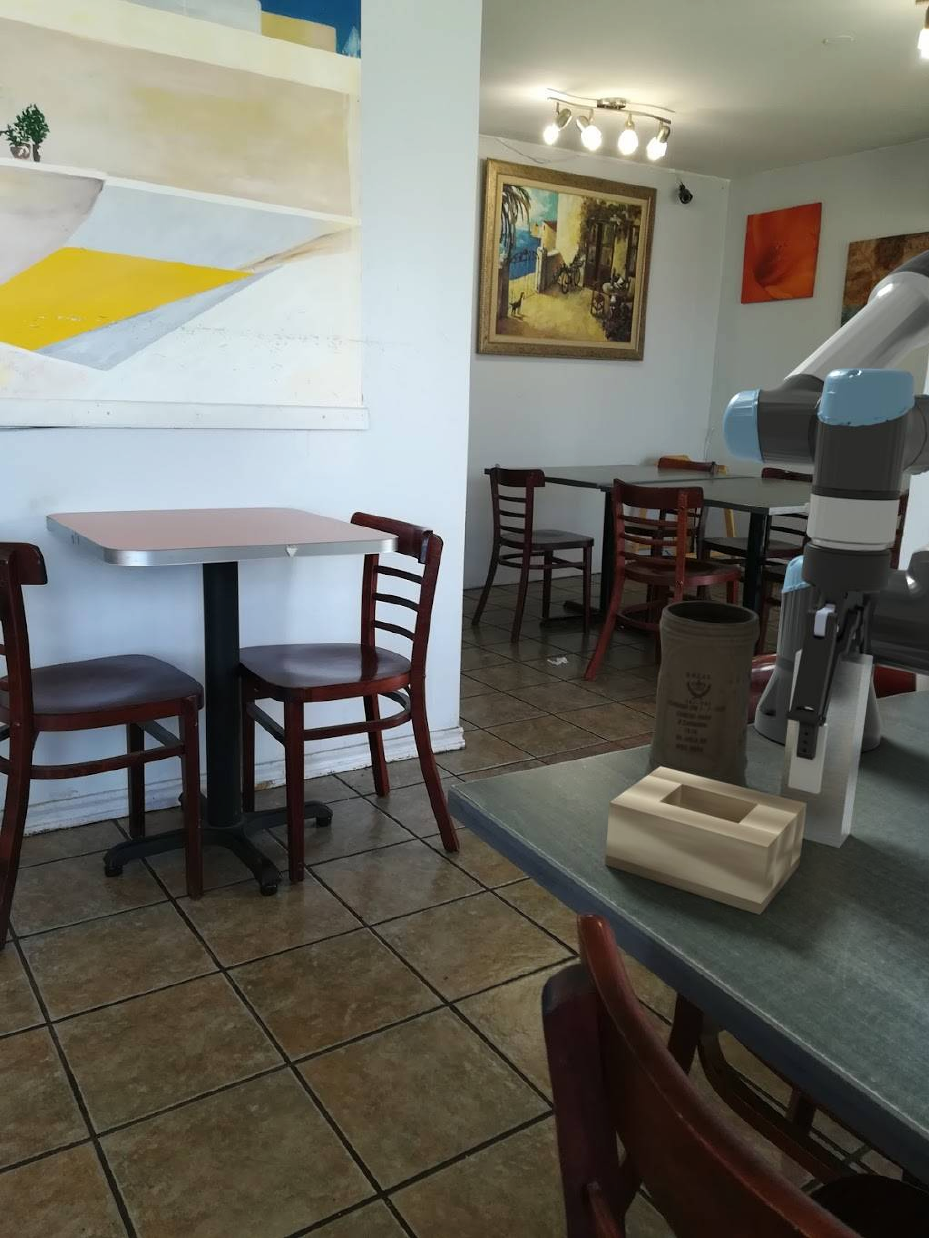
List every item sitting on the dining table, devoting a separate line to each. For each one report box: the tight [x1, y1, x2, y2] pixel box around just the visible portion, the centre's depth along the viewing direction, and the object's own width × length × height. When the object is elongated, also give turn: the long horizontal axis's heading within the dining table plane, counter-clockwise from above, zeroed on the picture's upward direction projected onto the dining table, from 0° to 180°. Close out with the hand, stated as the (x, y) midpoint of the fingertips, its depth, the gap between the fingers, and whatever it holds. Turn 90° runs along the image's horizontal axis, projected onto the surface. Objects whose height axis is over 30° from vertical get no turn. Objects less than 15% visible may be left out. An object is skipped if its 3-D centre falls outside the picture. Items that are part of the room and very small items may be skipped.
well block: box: [604, 766, 807, 916], centre depth 88 cm, size 11×14×6 cm
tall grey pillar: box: [779, 649, 873, 849], centre depth 94 cm, size 4×6×18 cm, turn 56°
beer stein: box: [643, 600, 761, 789], centre depth 105 cm, size 15×11×20 cm
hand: (820, 772), depth 95 cm, fingers open, 10 cm apart
